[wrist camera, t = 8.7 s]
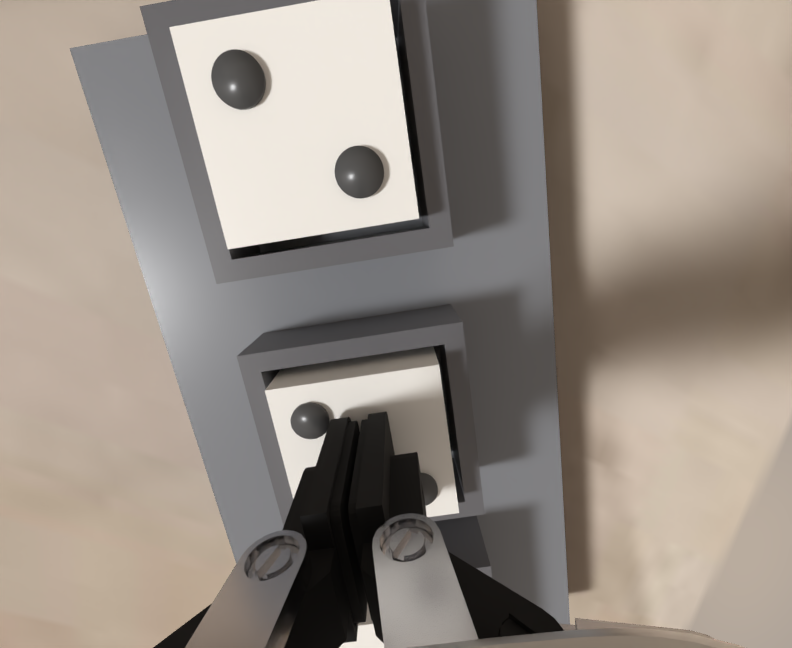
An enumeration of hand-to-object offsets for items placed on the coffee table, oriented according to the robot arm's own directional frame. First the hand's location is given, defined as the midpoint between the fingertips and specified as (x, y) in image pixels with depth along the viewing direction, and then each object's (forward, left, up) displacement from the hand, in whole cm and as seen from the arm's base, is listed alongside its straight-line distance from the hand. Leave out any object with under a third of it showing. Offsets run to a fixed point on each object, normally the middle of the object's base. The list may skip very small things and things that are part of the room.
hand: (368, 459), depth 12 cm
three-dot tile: (0, 0, -3) cm, 3 cm away
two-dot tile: (-9, 0, -3) cm, 10 cm away
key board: (0, 0, -6) cm, 6 cm away
